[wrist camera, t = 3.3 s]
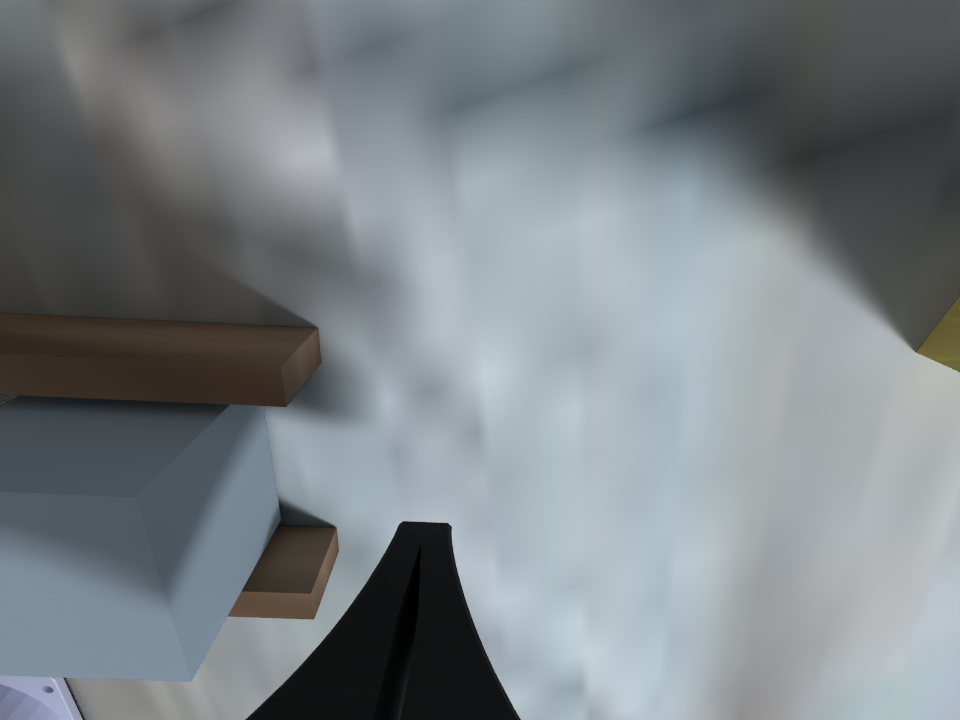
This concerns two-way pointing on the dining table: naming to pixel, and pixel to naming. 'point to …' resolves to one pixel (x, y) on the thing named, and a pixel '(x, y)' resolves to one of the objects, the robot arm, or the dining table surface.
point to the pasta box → (945, 340)
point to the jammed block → (126, 532)
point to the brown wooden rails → (190, 379)
